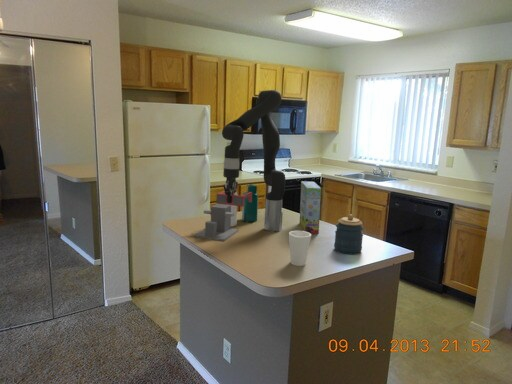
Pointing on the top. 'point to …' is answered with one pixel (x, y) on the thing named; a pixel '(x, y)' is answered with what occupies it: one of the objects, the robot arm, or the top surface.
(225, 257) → the top surface
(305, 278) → the top surface
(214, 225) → the stand
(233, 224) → the milk
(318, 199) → the snack box
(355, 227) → the lidded canister
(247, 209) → the teal bottle
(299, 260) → the foam cup
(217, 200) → the red c-shaped frame
